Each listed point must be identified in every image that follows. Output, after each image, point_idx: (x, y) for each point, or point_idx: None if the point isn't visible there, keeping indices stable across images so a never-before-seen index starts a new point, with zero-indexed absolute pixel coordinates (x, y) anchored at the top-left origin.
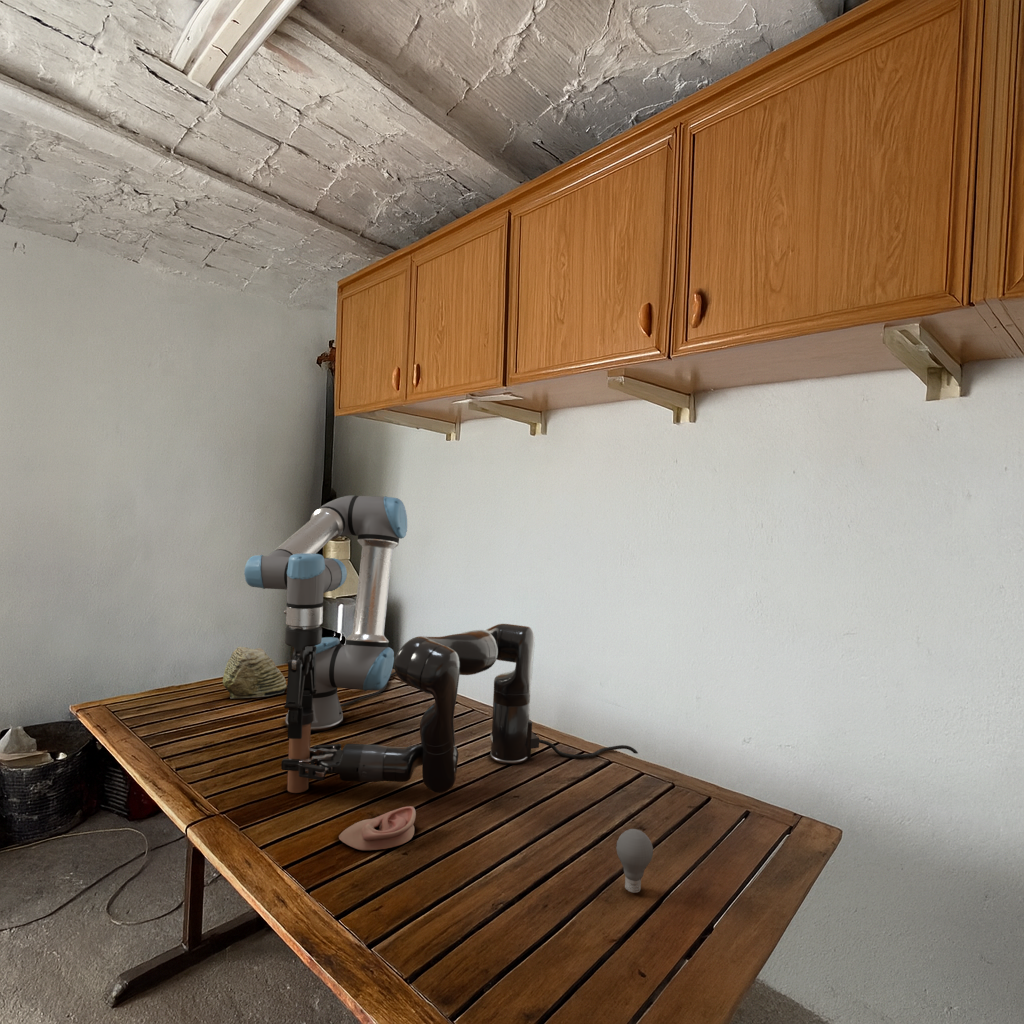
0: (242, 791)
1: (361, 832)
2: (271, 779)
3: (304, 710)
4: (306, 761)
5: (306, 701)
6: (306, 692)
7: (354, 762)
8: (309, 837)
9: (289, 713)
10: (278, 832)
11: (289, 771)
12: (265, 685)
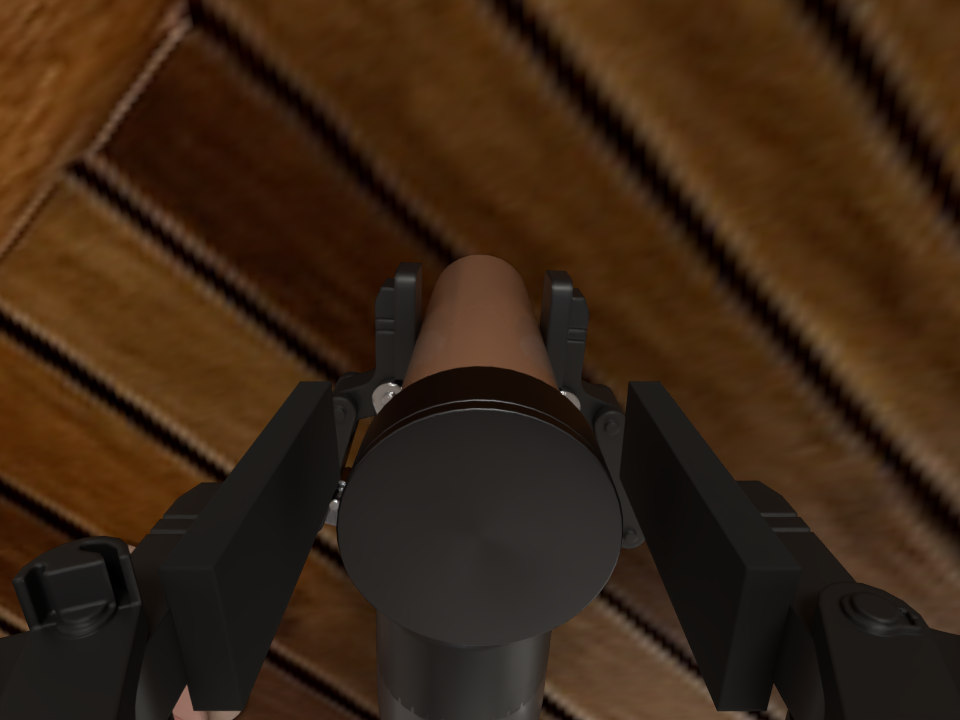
0: (433, 25)
1: None
2: (579, 140)
3: (536, 561)
4: None
5: (696, 594)
6: (802, 676)
7: (379, 649)
8: (92, 447)
9: (202, 523)
10: (94, 331)
11: (435, 294)
12: None
